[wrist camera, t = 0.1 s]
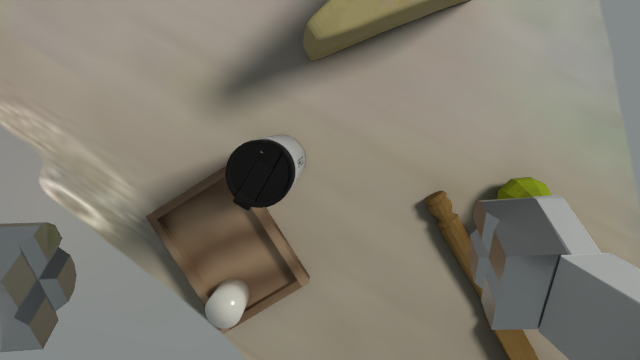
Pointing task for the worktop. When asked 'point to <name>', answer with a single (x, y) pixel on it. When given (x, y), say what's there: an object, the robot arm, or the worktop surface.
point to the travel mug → (264, 170)
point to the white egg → (227, 303)
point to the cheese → (361, 21)
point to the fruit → (522, 189)
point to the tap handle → (458, 240)
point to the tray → (228, 245)
